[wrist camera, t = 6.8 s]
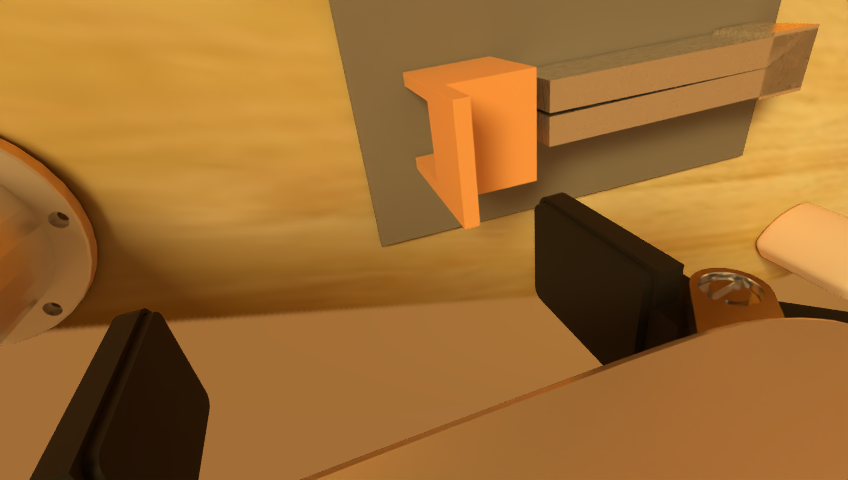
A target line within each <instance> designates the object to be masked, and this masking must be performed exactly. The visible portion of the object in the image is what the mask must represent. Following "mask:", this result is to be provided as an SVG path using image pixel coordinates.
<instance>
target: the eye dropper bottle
mask: <svg viewBox="0 0 848 480" xmlns="http://www.w3.org/2000/svg"><path fill="white" fill-rule="evenodd" d="M756 245H757V248H758V251H759V253H760V255H761V256H762V257H764V258H766V259H767V260H769V261H771V262H773V263H775V264H777V265H779V266H781V267H783V268H785V269H787V270H789V271H790V272H792V273H794V274H796V275H798V276H800V277H802V278H804V279H806V280H808V281H810V282H812V283H814V284H816V285H818V286H819V287H821V288H823V289H825V290H827V291H829V292H832V293H833V294H835V295H837V296H840V297H842V298H844V299H846V300H848V217H846V216H844V215H841V214H838V213H836V212H833V211H830V210H827V209H825V208H822V207H819V206H817V205H814V204H811V203H802V204H799V205H797V206H795V207H793V208H791V209H789V210H788V211H786V212H785V213H783V214H782V215H780V216H779V217H778V218H777V219H776V220H774V221H773V222H772V223H771V224H770V225H769V226H768V227H767V228H766V229H765V230H764V232H763V233H762V234H761V235H760V237H759V238H758V240H757V242H756Z"/></svg>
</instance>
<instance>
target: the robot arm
mask: <svg viewBox="0 0 848 480" xmlns="http://www.w3.org/2000/svg"><path fill="white" fill-rule="evenodd" d="M62 213H63V214H65V215H66V216H64V215H63V214H62ZM97 264H98V261H97V242H96V239H95V235H94V232H93V228H92V225H91V223H90V221H89V219H88V217H87V215H86V213H85V211H84V210H83V208H82V206H81V204H80V203H79V201H78V200H77V199H76V198H75V196H74V195H73V194H72V193H71V191H70V190H69V189H68V188H67V186H66V185H65V184H64V183H63V182H62V181H61V180H60V179H59V178H57V177H56V176H55V175H54V174H53V173H52V172H51V171H50V170H49V169H48V168H46V167H45V166H44V165H43V164H42V163H40V162H39V161H37V160H36V159H34V158H33V157H31V156H30V155H29V154H27V153H26V152H24V151H23V150H21V149H20V148H18V147H17V146H15V145H13V144H11V143H9V142H7V141H5V140H3V139H1V138H0V346H2V345H7V344H13V343H17V342H20V341H23V340H25V339H29V338H32V337H34V336H37V335H39V334H41V333H43V332H45V331H47V330H49V329H50V328H52V327H54V326H56V325H57V324H59V323H60V322H61V321H62V320H63V319H65V318H66V317H67V316H68V315H69V314H71V313H72V312H73V311H74V309H75V308H76V307H77V305H78V304H79V303H80V302H81V300H82V299H83V298H84V296H85V295H86V293H87V291H88V289H89V288H90V286H91V284H92V282H93V280H94V276H95V272H96V268H97ZM683 269H684V264H682V263H680V262H679V261H677V260H675V259H674V258H672V257H670V256H669V255H667V254H665V253H664V252H662V251H660V250H659V249H657V248H655V247H654V246H652V245H650V244H649V243H647V242H645V241H644V240H642V239H641V238H639V237H637V236H636V235H634V234H632V233H631V232H629V231H627V230H626V229H624V228H622V227H621V226H619V225H617V224H616V223H614V222H612V221H611V220H609V219H607V218H606V217H604V216H602V215H601V214H599V213H597V212H596V211H594V210H592V209H591V208H589V207H587V206H586V205H584V204H582V203H581V202H579V201H577V200H576V199H574V198H572V197H571V196H569V195H567V194H566V193H563V192H561V193H557V194H554V195H550V196H546V197H543V198H541V200H540V202H539V204H538V205H536V206H535V288H536V292H537V294H538V296H539V298H540V299H541V300H542V301H543V303H545V305H546V306H547V307H548V308H549V309H550V310H551V311H552V312H553V313H554V314H555V315H556V316H557V317H558V318H559V319H560V320H561V321H562V322H563V324H564V325H565V326H566V327H567V328H568V329H569V330H570V331H571V332H572V333H573V334H574V335H575V336H576V337H577V338H578V339H579V340H580V341H581V342H582V344H583V345H584V346H585V347H586V348H587V349H588V350H589V351H590V352H591V353H592V354H593V355H594V356H595V357H596V358H597V359H598V360H599V362H600V363H601V364H602V365H603V366H601V367H598V368H596V369H593V370H590V371H587V372H585V373H582V374H579V375H577V376H574V377H571V378H569V379H566V380H563V381H561V382H558V383H555V384H552V385H550V386H547V387H544V388H542V389H539V390H536V391H533V392H531V393H528V394H525V395H523V396H520V397H517V398H515V399H512V400H509V401H507V402H504V403H501V404H499V405H496V406H493V407H491V408H488V409H485V410H483V411H480V412H477V413H475V414H472V415H469V416H467V417H464V418H461V419H459V420H456V421H453V422H451V423H448V424H445V425H443V426H440V427H438V428H435V429H432V430H430V431H427V432H424V433H422V434H419V435H416V436H414V437H411V438H408V439H406V440H403V441H400V442H398V443H395V444H393V445H390V446H388V447H385V448H382V449H379V450H377V451H374V452H371V453H369V454H366V455H364V456H361V457H358V458H356V459H353V460H351V461H348V462H345V463H343V464H340V465H337V466H335V467H332V468H330V469H327V470H325V471H322V472H319V473H317V474H314V475H312V476H309V477H306V478H304V479H301V480H848V312H845V311H839V310H832V309H826V308H819V307H812V306H806V305H799V304H792V303H786V302H779V301H778V300H777V298H776V295H775V293H774V292H773V290H772V289H771V287H770V286H769V285H768V284H766V283H765V282H764V281H762V280H761V279H759V278H757V277H755V276H753V275H751V274H748V273H745V272H742V271H738V270H733V269H727V268H709V269H702V270H700V271H698V272H695V273H694V274H693V275H692V276H691V277H690V278H688V277H687V276H685V275H684V274H683ZM209 408H210V405H209V398H208V395H207V393H206V391H205V389H204V388H203V386H202V384H201V382H200V380H199V379H198V377H197V375H196V374H195V372H194V370H193V369H192V367H191V365H190V363H189V362H188V360H187V358H186V356H185V355H184V353H183V351H182V350H181V348H180V346H179V344H178V342H177V341H176V339H175V338H174V336H173V334H172V332H171V330H170V329H169V327H168V325H167V323H166V322H165V320H164V318H163V317H162V315H161V314H160V313H159V312H154V313H151V311H149V310H148V309H145V308H144V309H140V310H137V311H133V312H130V313H126V314H123V315H119V316H116V317H115V318H114V319H113V321H112V323H111V325H110V327H109V329H108V330H107V333H106V335H105V336H104V338H103V340H102V342H101V344H100V346H99V348H98V350H97V352H96V353H95V355H94V358H93V359H92V361H91V363H90V365H89V367H88V369H87V371H86V373H85V374H84V376H83V378H82V380H81V382H80V384H79V386H78V388H77V390H76V392H75V394H74V396H73V398H72V399H71V401H70V403H69V405H68V407H67V409H66V411H65V413H64V415H63V417H62V418H61V420H60V422H59V424H58V426H57V428H56V430H55V432H54V434H53V436H52V438H51V440H50V441H49V443H48V445H47V447H46V449H45V451H44V453H43V455H42V457H41V459H40V461H39V462H38V465H37V467H36V468H35V470H34V472H33V474H32V476H31V478H30V480H198V478H199V472H200V466H201V459H202V453H203V447H204V440H205V434H206V428H207V421H208V415H209Z"/></svg>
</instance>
